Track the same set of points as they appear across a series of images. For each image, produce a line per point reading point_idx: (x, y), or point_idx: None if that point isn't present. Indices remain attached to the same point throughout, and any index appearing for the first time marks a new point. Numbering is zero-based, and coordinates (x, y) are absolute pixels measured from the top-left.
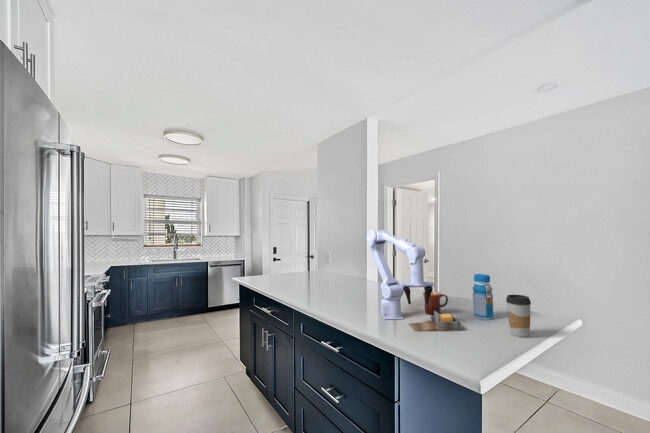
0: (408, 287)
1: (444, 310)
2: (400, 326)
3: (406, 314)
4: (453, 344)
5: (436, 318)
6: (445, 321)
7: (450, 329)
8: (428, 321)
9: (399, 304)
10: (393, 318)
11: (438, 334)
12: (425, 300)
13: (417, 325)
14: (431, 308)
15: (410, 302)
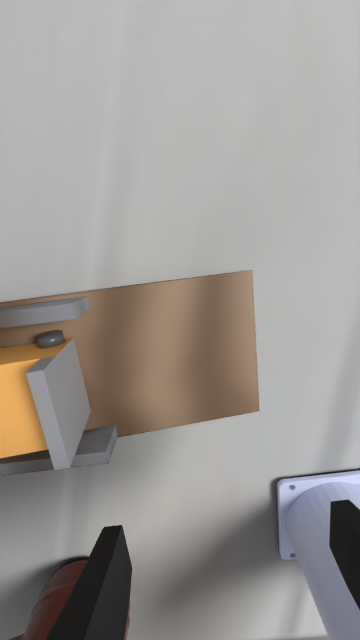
0: None
1: None
2: (320, 357)
3: (240, 560)
4: (18, 8)
5: (73, 397)
6: (12, 353)
7: (8, 302)
8: (134, 433)
9: (349, 603)
10: (340, 477)
11: (101, 225)
12: (122, 605)
13: (213, 373)
14: None
15: (350, 521)
